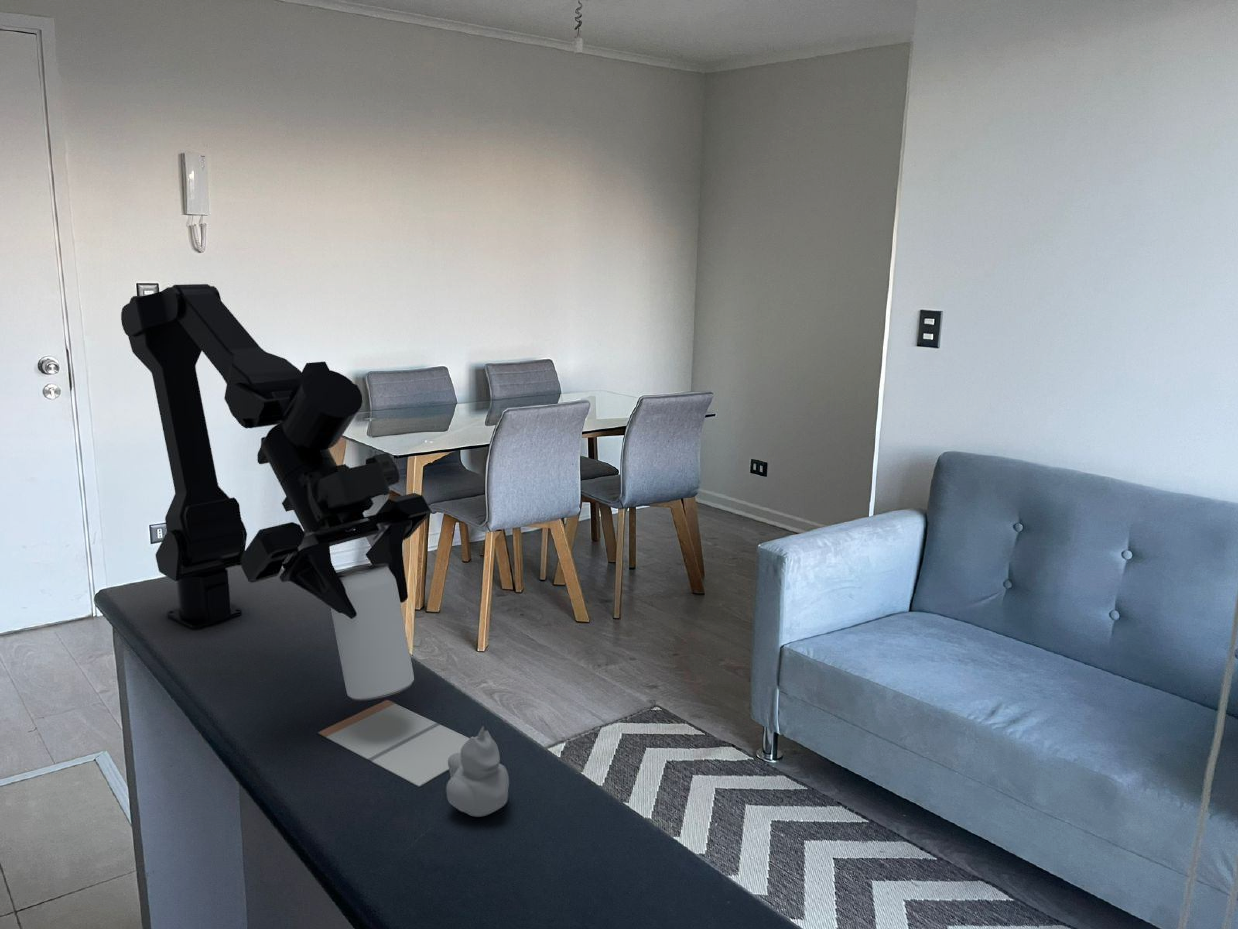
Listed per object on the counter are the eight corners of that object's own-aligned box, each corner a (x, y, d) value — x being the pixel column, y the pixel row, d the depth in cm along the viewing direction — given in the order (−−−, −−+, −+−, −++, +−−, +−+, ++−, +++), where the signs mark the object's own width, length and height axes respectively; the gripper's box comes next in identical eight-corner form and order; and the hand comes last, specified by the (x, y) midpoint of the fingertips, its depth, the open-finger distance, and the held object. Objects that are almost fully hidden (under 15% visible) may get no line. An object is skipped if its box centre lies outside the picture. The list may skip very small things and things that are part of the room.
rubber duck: (475, 837, 78) (475, 748, 76) (426, 803, 82) (425, 718, 80) (525, 809, 82) (526, 724, 80) (476, 778, 86) (476, 697, 84)
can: (381, 701, 88) (357, 574, 88) (333, 701, 92) (310, 579, 91) (429, 680, 94) (406, 560, 93) (382, 681, 97) (361, 565, 97)
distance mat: (318, 733, 92) (318, 732, 92) (387, 701, 99) (387, 699, 99) (419, 786, 84) (419, 785, 84) (486, 747, 91) (486, 746, 91)
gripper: (250, 444, 84) (328, 596, 80) (419, 416, 98) (492, 545, 94) (210, 510, 90) (280, 653, 86) (373, 475, 104) (440, 597, 101)
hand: (379, 609), depth 92 cm, fingers closed on can, 6 cm apart
